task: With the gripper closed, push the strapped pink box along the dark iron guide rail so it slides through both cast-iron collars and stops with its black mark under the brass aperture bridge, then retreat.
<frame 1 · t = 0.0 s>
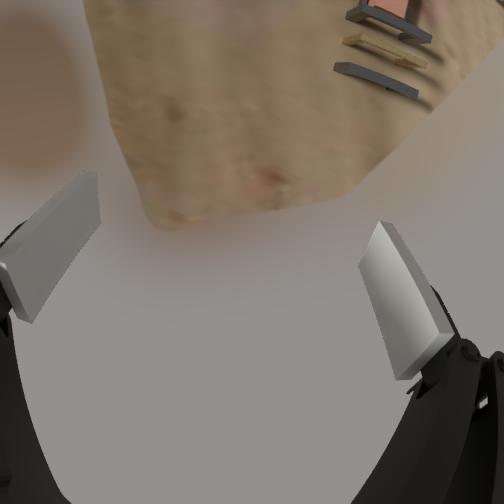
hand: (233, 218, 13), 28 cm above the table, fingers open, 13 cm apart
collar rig: (372, 51, 28), on the table
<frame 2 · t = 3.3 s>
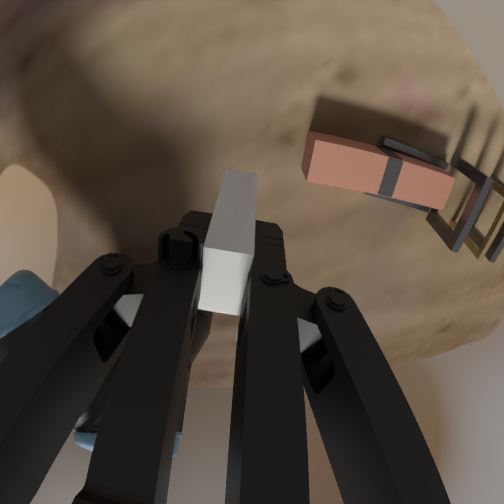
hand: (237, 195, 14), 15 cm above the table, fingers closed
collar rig: (464, 197, 29), on the table
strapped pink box: (376, 163, 28), on the table
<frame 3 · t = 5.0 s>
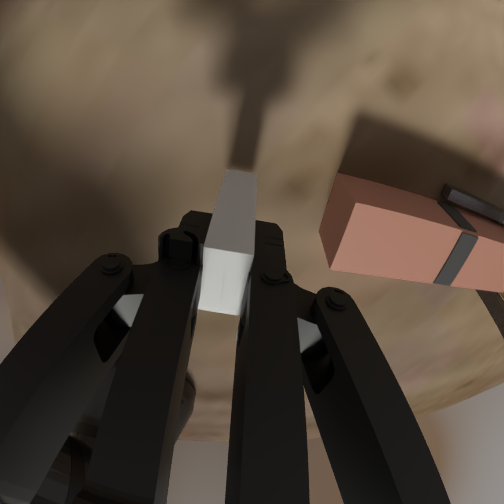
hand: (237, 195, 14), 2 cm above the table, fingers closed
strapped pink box: (429, 224, 17), on the table
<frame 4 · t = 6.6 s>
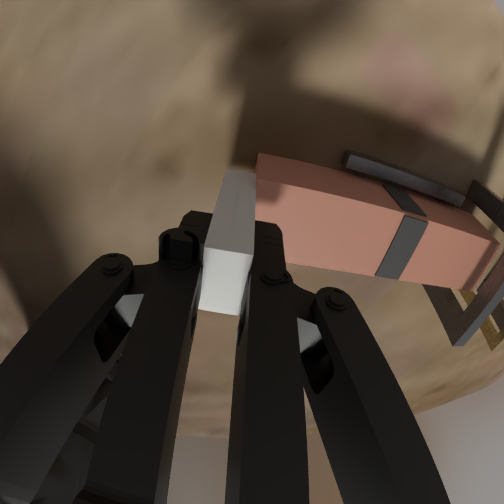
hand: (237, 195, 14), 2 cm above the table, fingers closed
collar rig: (482, 245, 18), on the table
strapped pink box: (377, 212, 17), on the table, touching gripper
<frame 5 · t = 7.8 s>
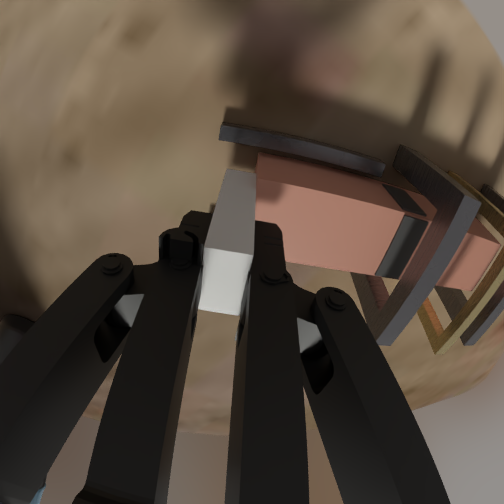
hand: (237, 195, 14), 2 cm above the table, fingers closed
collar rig: (428, 226, 17), on the table
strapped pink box: (377, 211, 17), on the table, touching gripper
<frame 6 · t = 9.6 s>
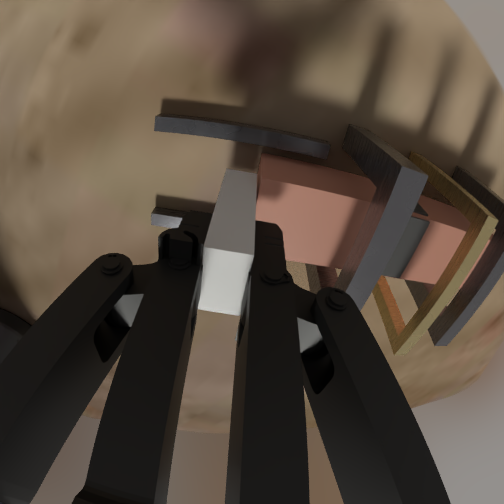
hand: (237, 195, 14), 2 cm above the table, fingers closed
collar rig: (391, 214, 17), on the table
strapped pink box: (379, 211, 17), on the table
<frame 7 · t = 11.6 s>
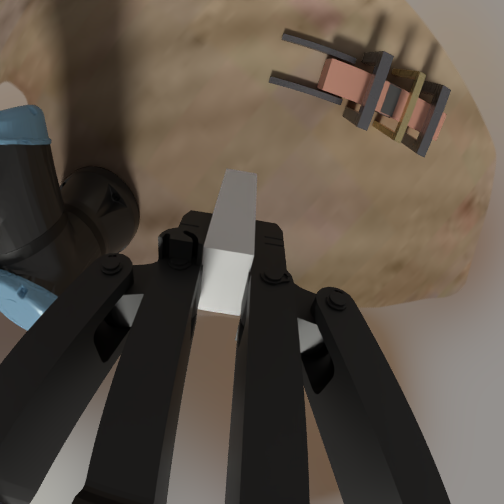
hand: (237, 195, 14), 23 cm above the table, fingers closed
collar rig: (385, 98, 30), on the table
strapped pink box: (379, 96, 30), on the table
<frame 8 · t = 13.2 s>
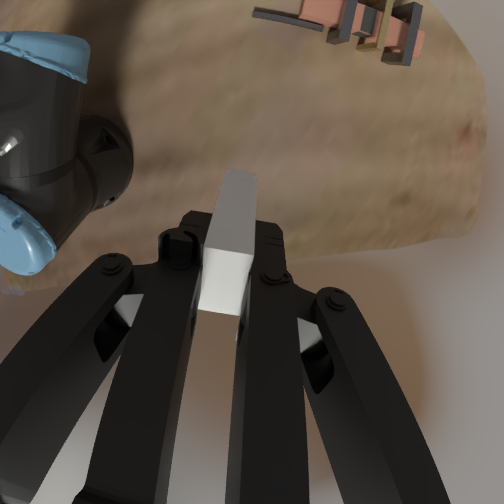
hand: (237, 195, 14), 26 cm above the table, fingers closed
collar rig: (365, 24, 27), on the table
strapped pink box: (358, 23, 27), on the table
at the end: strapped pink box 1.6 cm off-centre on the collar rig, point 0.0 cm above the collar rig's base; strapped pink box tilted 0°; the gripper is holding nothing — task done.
